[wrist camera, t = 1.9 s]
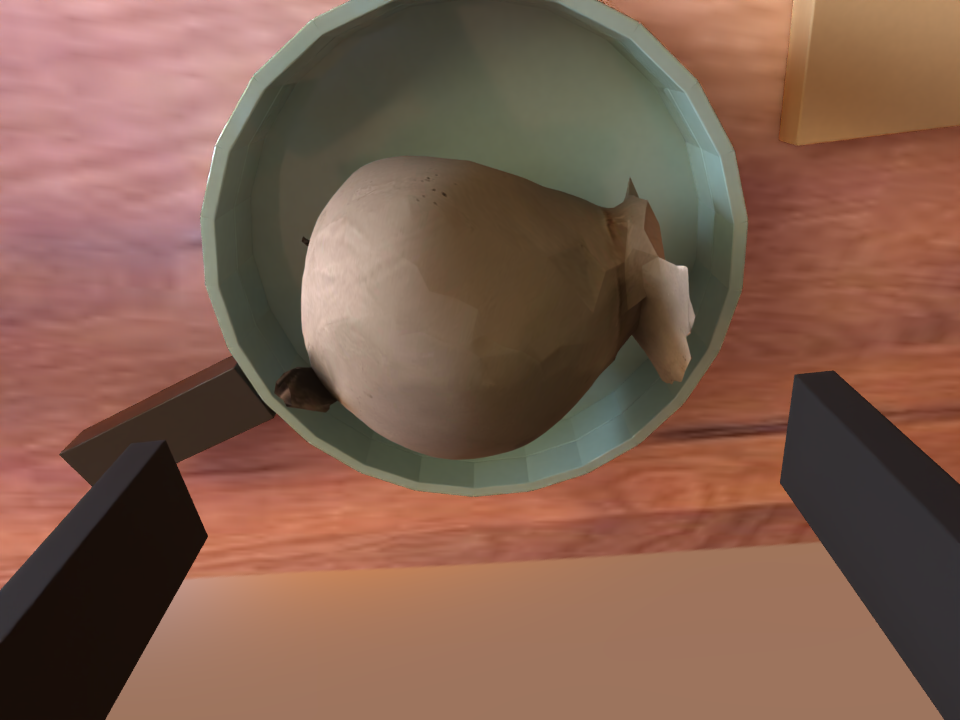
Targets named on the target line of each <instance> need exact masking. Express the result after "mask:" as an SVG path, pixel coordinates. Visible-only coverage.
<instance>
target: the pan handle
mask: <svg viewBox="0 0 960 720" xmlns="http://www.w3.org/2000/svg"><path fill="white" fill-rule="evenodd" d="M275 415H276V413H275V412H274V411H273V410H272V409H271V408H270V407H269V406H268V405H267V404H266V403H265V402H264V401H263V400H262V399H261V397H260V396H259V394H258V393H257V391H256V390H255V388H254V387H253V385H252V384H251V382H250V381H249V379H248V378H247V376H246V375H245V373H244V372H243V370H242V369H241V367H240V366H239V365H238V363H237V362H236V360H235V359H234V357H233V356H230V357H228V358H226V359H224V360H222V361H220V362H218V363H216V364H214V365H212V366H210V367H208V368H206V369H204V370H202V371H200V372H198V373H196V374H194V375H192V376H190V377H188V378H186V379H184V380H182V381H180V382H178V383H176V384H174V385H172V386H170V387H168V388H166V389H164V390H162V391H160V392H158V393H156V394H154V395H152V396H151V397H149V398H147V399H145V400H143V401H141V402H139V403H137V404H135V405H133V406H131V407H129V408H127V409H125V410H123V411H121V412H119V413H117V414H115V415H113V416H111V417H109V418H107V419H105V420H103V421H101V422H99V423H97V424H95V425H93V426H91V427H89V428H87V429H85V430H83V431H82V432H81V433H80V434H79V435H78V436H77V437H76V438H75V439H74V440H73V441H72V442H71V443H70V444H69V445H68V446H67V447H66V448H65V449H64V450H63V451H62V452H61V453H60V454H59V455H60V456H61V457H62V458H63V459H64V460H65V461H66V462H67V463H68V464H69V465H70V466H71V467H72V468H74V469H75V470H76V471H77V472H78V473H79V474H80V475H81V476H82V477H83V478H84V479H85V480H86V481H87V482H88V483H89V484H90V485H91V486H92V487H93V486H94V484H95V483H96V482H97V481H98V480H99V479H100V478H101V477H102V476H103V474H104V473H105V472H106V471H107V470H108V469H109V468H110V467H111V465H112V464H113V463H114V462H115V461H116V460H117V459H118V458H119V456H120V455H121V454H122V453H123V452H124V451H125V450H126V449H127V447H128V446H129V445H130V444H131V443H139V442H149V441H158V440H166V442H167V444H168V446H169V449H170V451H171V453H172V455H173V458H174V460H175V462H176V463H178V462H180V461H182V460H185V459H187V458H189V457H191V456H193V455H195V454H197V453H200V452H202V451H204V450H206V449H208V448H210V447H212V446H215V445H217V444H219V443H221V442H223V441H225V440H227V439H230V438H232V437H234V436H236V435H238V434H240V433H242V432H245V431H247V430H249V429H251V428H253V427H255V426H257V425H260V424H262V423H264V422H266V421H268V420H270V419H272V418H274V416H275Z"/></svg>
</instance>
